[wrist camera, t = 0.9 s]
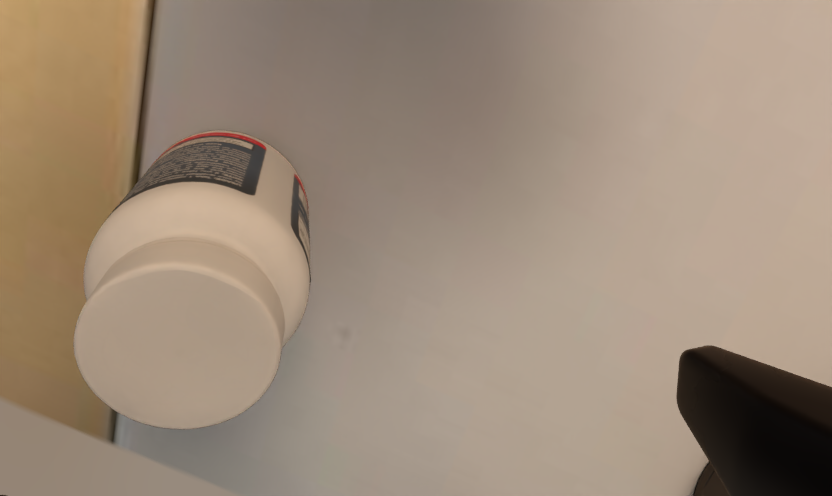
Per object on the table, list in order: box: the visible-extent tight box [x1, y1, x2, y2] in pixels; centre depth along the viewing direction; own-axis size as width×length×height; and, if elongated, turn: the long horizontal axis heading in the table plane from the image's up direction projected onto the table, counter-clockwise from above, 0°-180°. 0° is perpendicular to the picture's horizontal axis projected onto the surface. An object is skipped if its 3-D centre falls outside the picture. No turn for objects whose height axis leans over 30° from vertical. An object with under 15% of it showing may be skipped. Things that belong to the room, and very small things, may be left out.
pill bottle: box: [74, 130, 311, 429], centre depth 16 cm, size 5×5×9 cm
